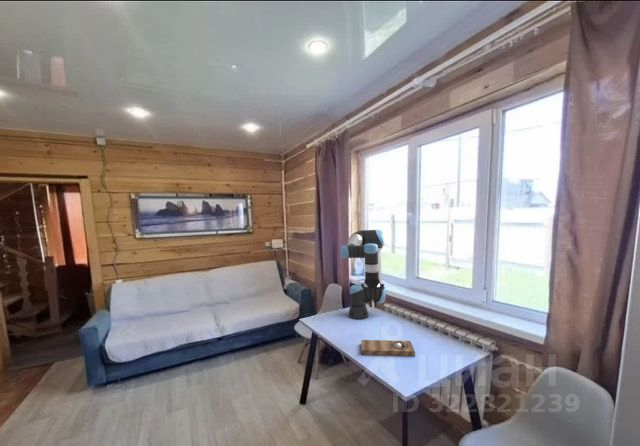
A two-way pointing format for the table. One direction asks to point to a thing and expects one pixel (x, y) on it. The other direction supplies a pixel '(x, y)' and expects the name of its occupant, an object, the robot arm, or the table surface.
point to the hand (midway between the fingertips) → (373, 312)
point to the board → (387, 348)
